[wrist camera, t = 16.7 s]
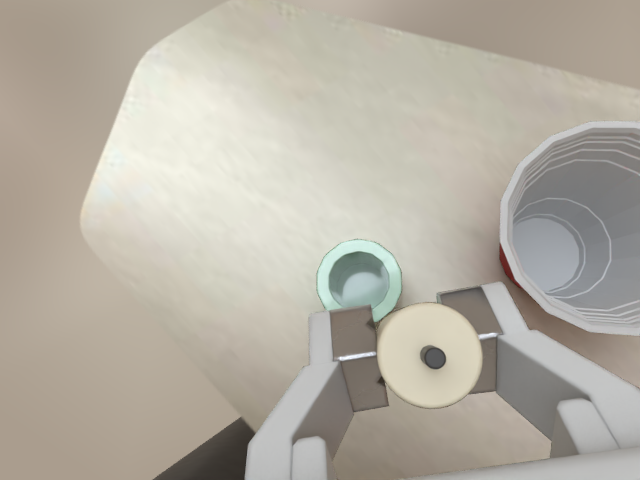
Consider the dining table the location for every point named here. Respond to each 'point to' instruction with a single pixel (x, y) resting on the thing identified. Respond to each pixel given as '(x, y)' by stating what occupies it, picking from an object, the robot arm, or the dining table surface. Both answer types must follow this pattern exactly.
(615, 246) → the plastic cup
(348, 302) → the holder
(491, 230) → the dining table surface
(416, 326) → the candle
